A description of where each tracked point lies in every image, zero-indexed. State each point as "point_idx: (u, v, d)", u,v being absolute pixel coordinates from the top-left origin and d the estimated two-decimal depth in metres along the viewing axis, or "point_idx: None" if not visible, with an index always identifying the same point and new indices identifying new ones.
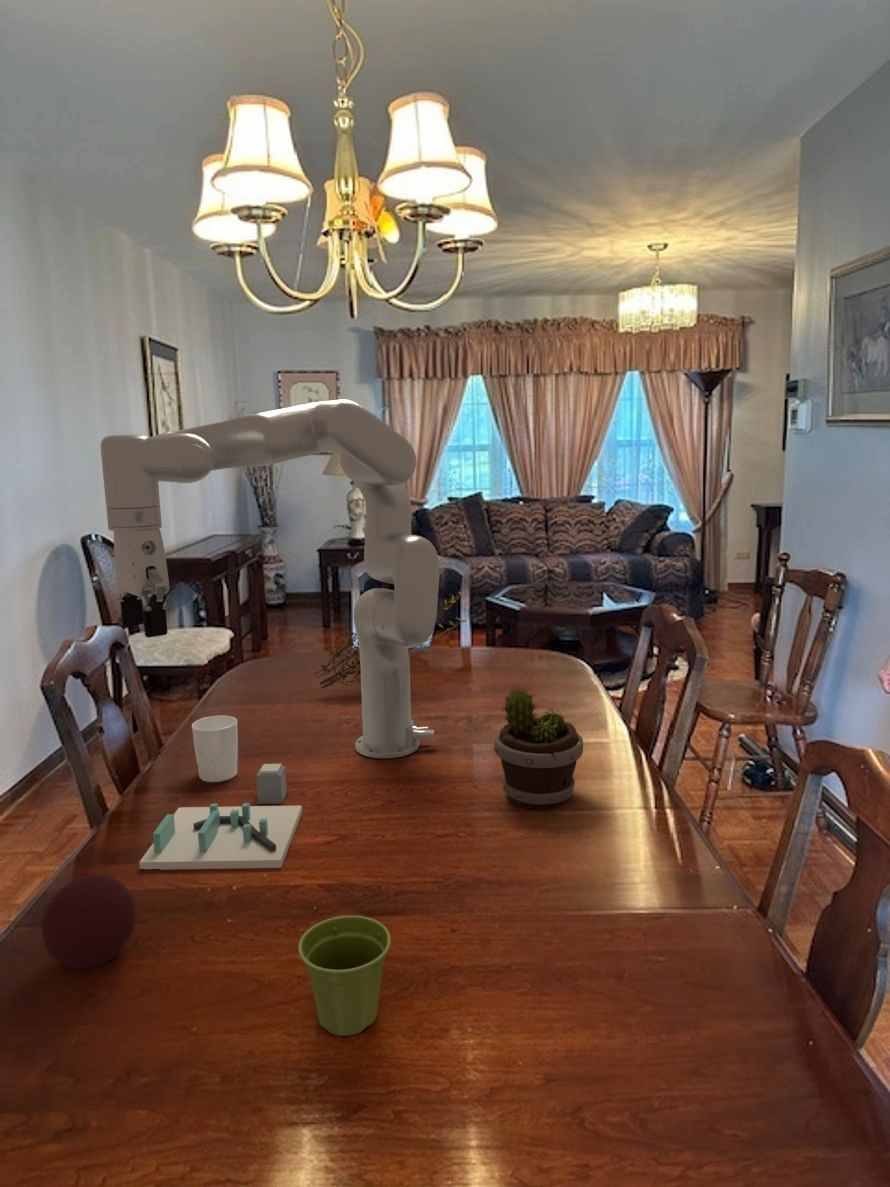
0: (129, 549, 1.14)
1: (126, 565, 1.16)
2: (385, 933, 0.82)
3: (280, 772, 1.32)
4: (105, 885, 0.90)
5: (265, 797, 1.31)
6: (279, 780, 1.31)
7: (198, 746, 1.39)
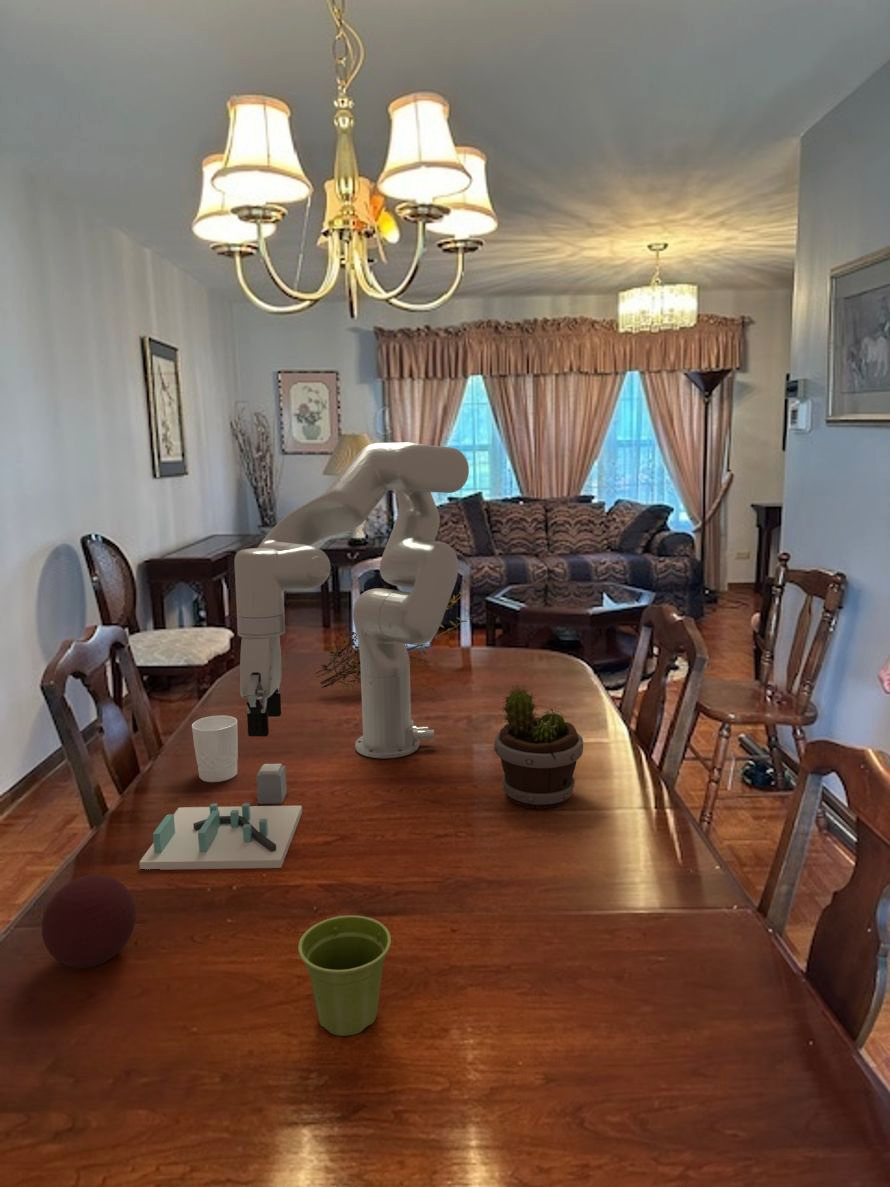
0: None
1: (279, 661, 1.31)
2: (385, 933, 0.82)
3: (280, 772, 1.32)
4: (105, 885, 0.90)
5: (265, 797, 1.31)
6: (279, 780, 1.31)
7: (198, 746, 1.39)
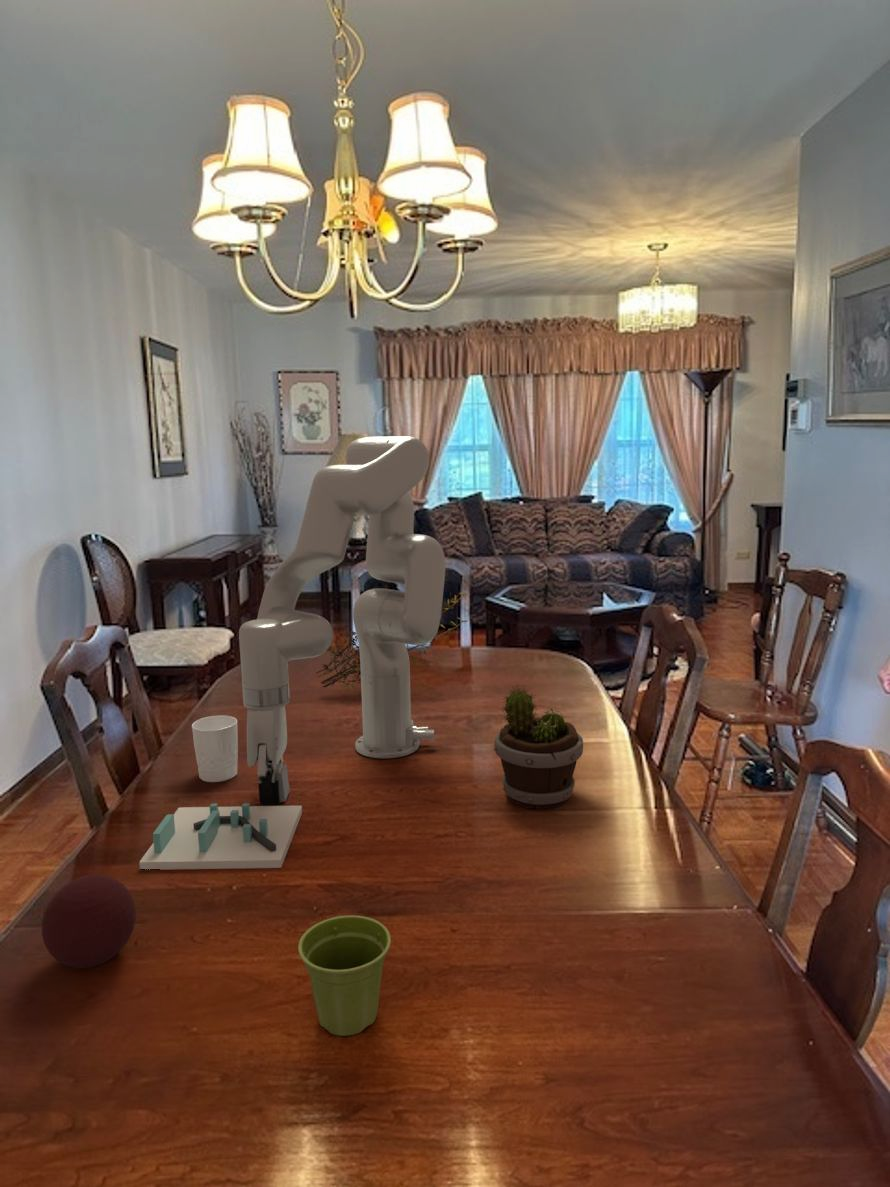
0: None
1: (285, 727, 1.33)
2: (385, 933, 0.82)
3: (281, 770, 1.32)
4: (104, 885, 0.90)
5: None
6: (281, 778, 1.31)
7: (198, 746, 1.39)
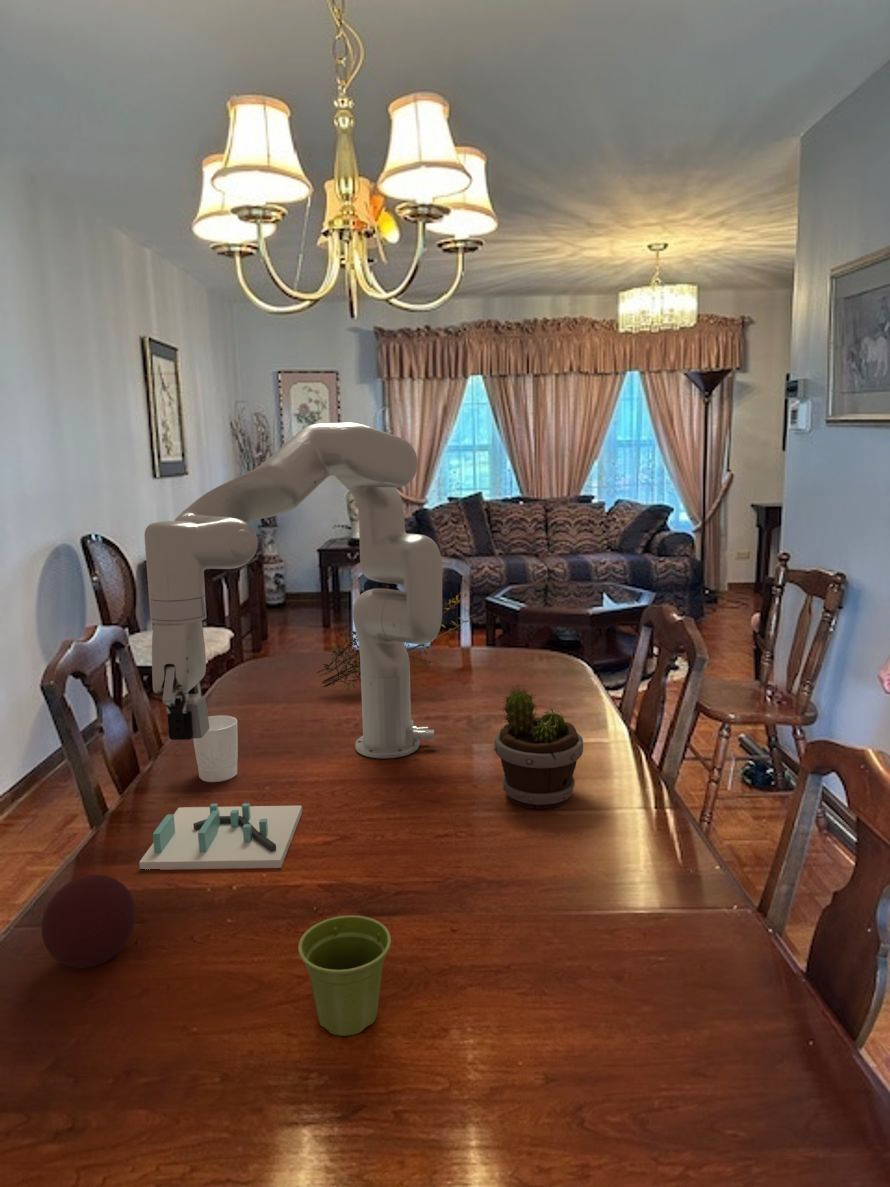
0: (202, 632, 1.15)
1: (201, 651, 1.14)
2: (385, 933, 0.82)
3: (198, 701, 1.12)
4: (104, 885, 0.90)
5: None
6: (196, 710, 1.11)
7: (198, 746, 1.39)
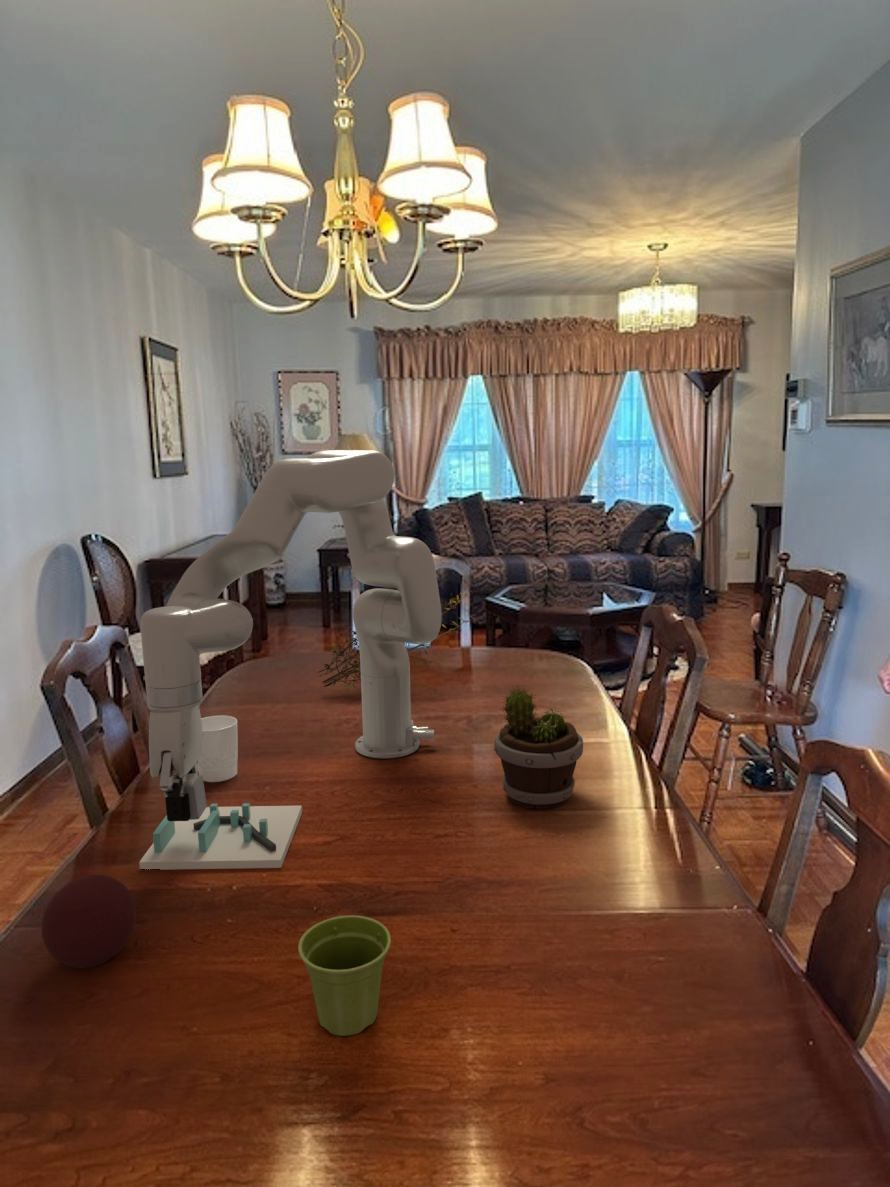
0: (199, 712, 1.16)
1: (198, 732, 1.15)
2: (385, 933, 0.82)
3: (195, 783, 1.14)
4: (104, 885, 0.90)
5: None
6: (193, 792, 1.13)
7: None
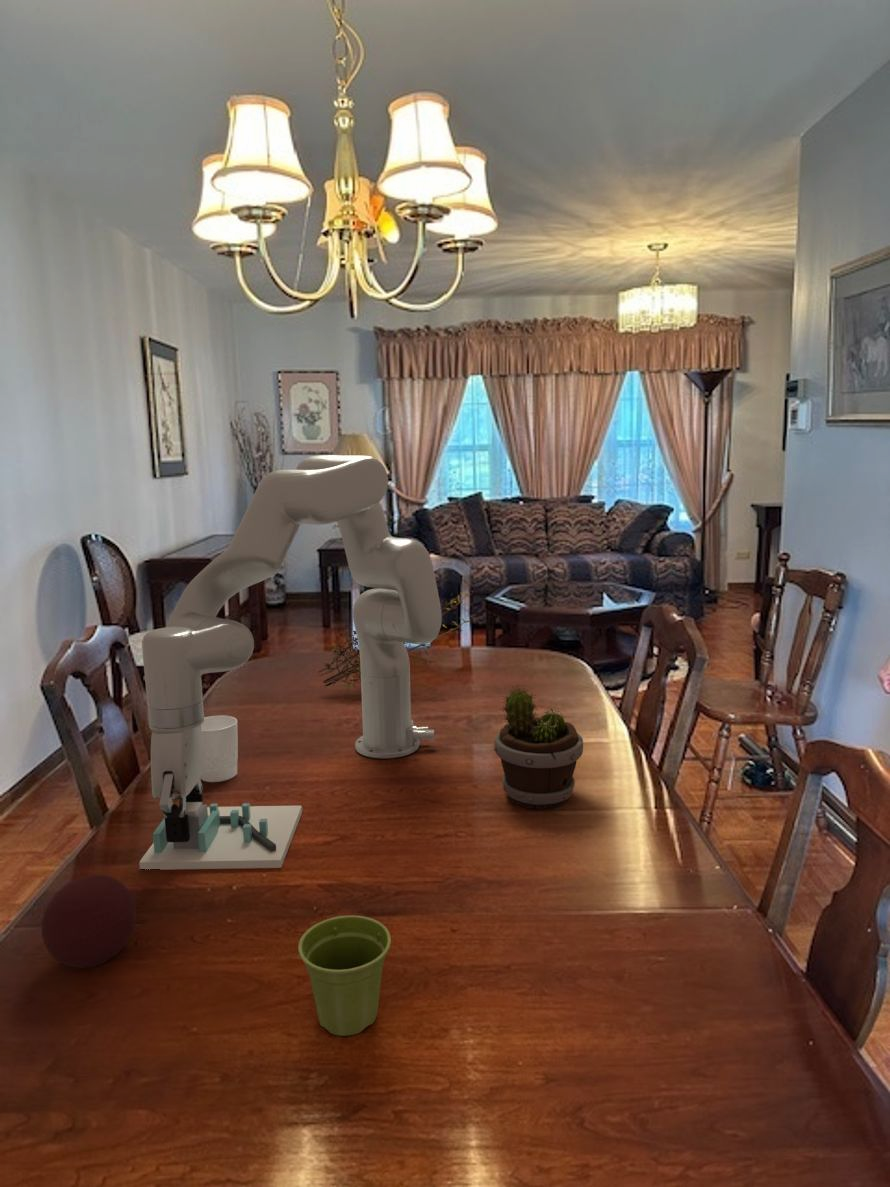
0: (200, 731, 1.17)
1: (200, 751, 1.16)
2: (385, 933, 0.82)
3: (199, 812, 1.15)
4: (105, 885, 0.90)
5: None
6: (197, 822, 1.14)
7: None
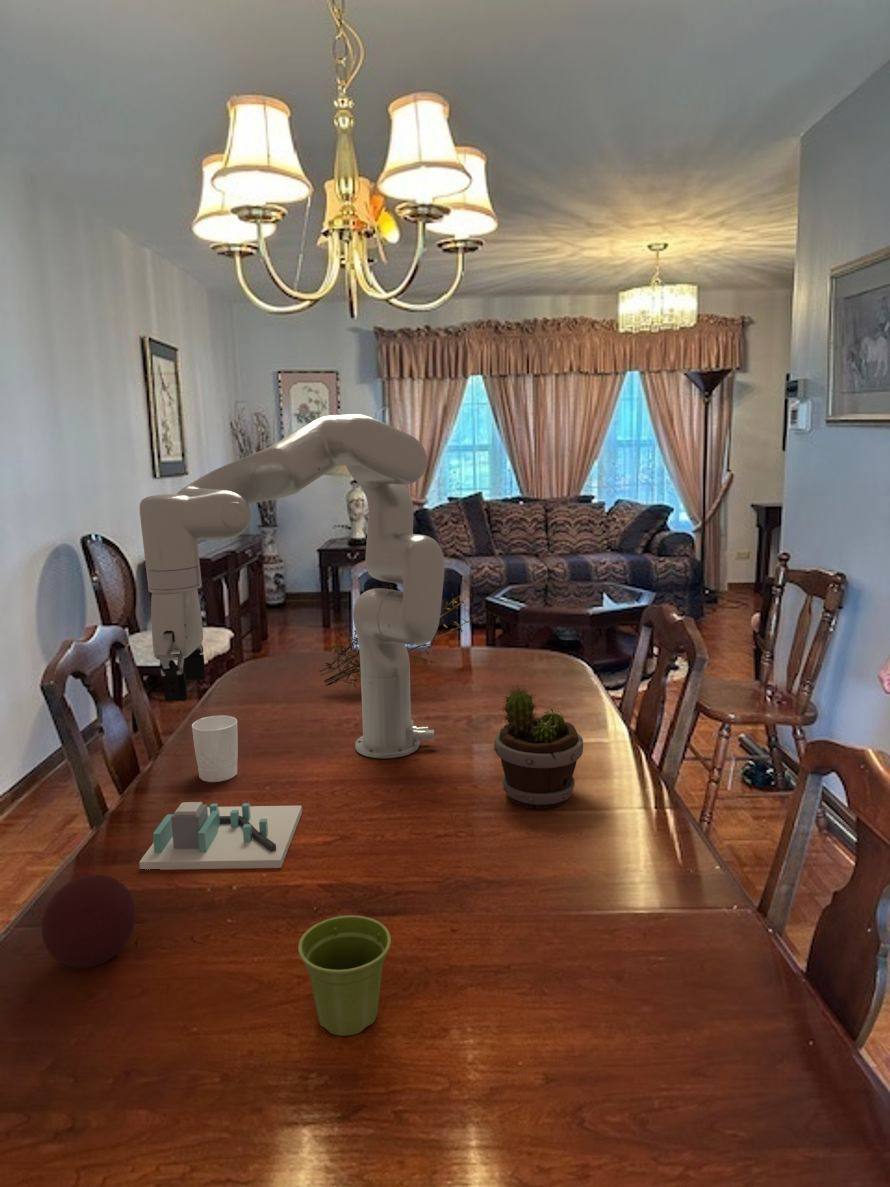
0: (198, 600, 1.20)
1: (198, 618, 1.19)
2: (385, 933, 0.82)
3: (199, 812, 1.15)
4: (104, 885, 0.90)
5: (181, 841, 1.14)
6: (197, 822, 1.14)
7: (198, 746, 1.39)
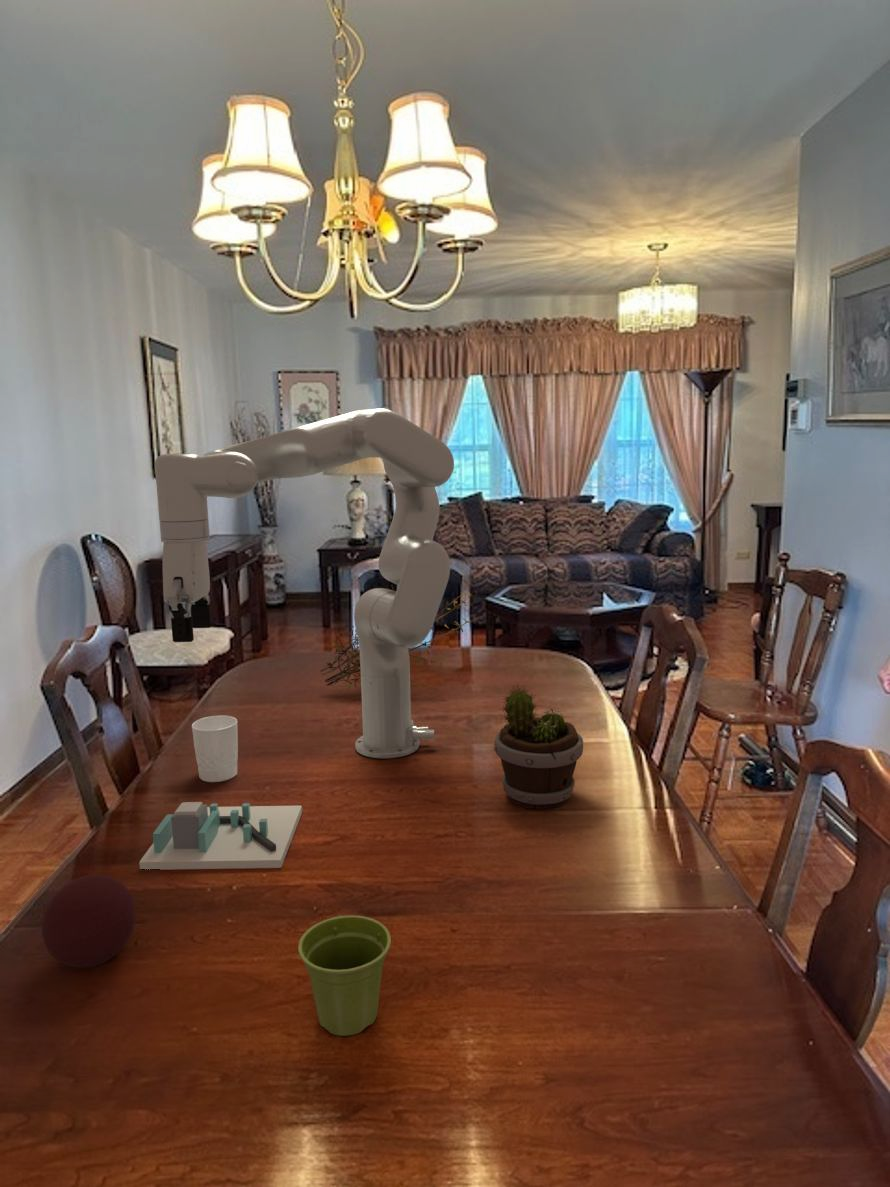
0: (206, 553, 1.31)
1: (206, 569, 1.30)
2: (385, 933, 0.82)
3: (199, 812, 1.15)
4: (105, 885, 0.90)
5: (181, 841, 1.14)
6: (197, 822, 1.14)
7: (198, 746, 1.39)
